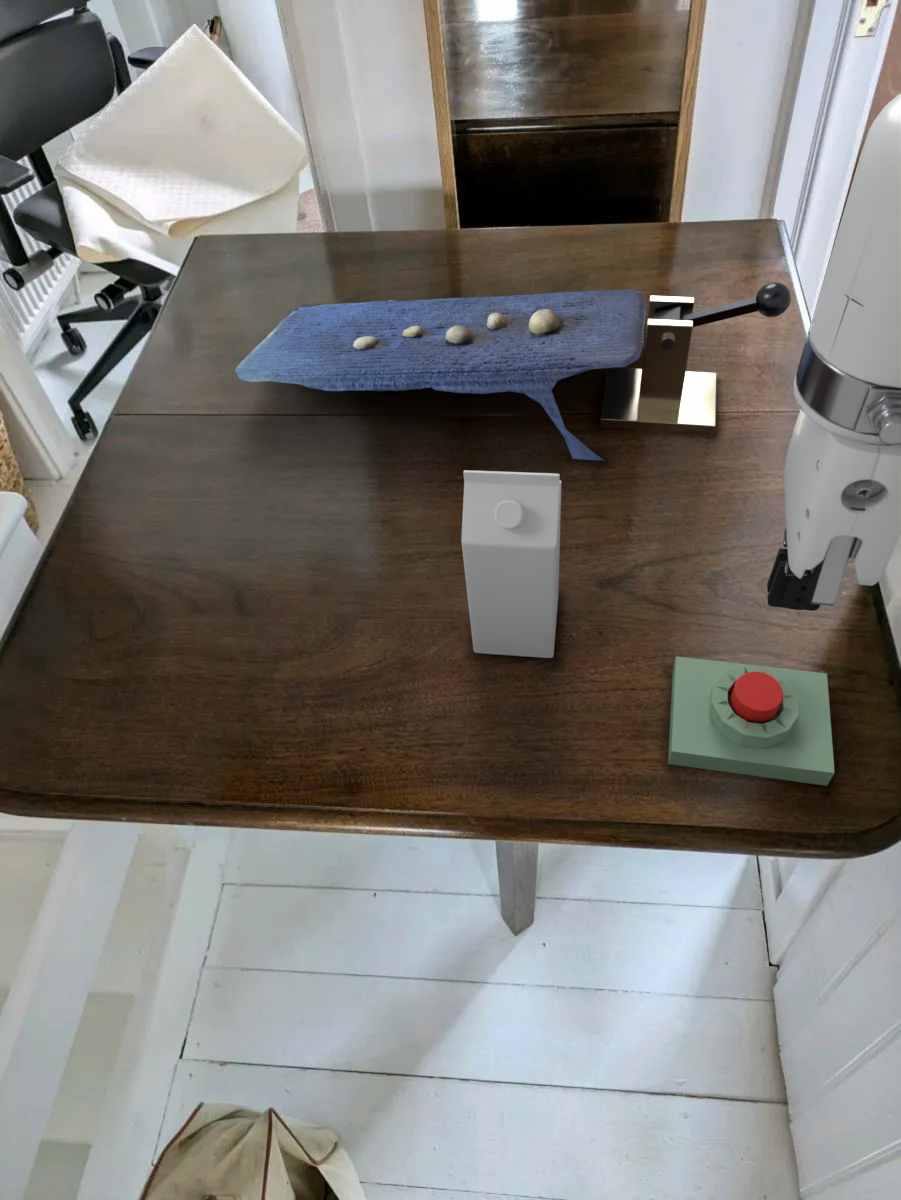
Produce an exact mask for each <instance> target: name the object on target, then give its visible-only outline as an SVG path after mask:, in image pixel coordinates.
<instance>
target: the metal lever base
mask: <svg viewBox="0 0 901 1200" xmlns="http://www.w3.org/2000/svg"><path fill="white" fill-rule="evenodd" d="M694 306H695V297H694V296H673V295H671V296H669V295H649V303H648V309H647V310H648V311H647V319H646V329H645V337H644V345H643V347H644V348H643V357H642V365H641V368H634V367H633V368H632V367H614V368H607V370H606V378H605V385H604V392H603V400H602V407H601V412H600V413H601V414H600V424H599V427H600V428H608V429H624V430H636V431H637V430H639V431H652V432H653V431H655V432H666V433H667V432H669V433H684V434H698V435H699V434H700V435H715V431H716V427H717V425H716V421H717V375H718V373H717V372H708V371H707V372H706V371H691V370H690V371H689V370H687V366H688V360H689V355H690V354H689V353H690V348H691V342H692V336H693V328H694V327H693V321H688V320H664V319H653V314H654V313H657V312H661V311H665V310H669V309H673V308H677V307H681V310H682V313H683V315H686V314H690V313H694Z"/></svg>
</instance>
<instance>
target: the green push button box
mask: <svg viewBox="0 0 901 1200" xmlns="http://www.w3.org/2000/svg"><path fill="white" fill-rule="evenodd" d="M748 672H762V673H766V674H768V675H770V676H772V677H773V678H774V679H776V680H777V681H778V683H779V684H780V686H781V688H782V690H783V700H782V702H781V705H780V707H779V709H778V712H777V713H776V715H775V716H774V717H773V718H772V719H770V720H768V721H765V722H752V721H748V720H746V719H744V718H742V717H741V716H740V715H738V714H737V713H736V711H735V710H734V708H733V707H732V704H731V695H732V691H733V688H734V686H735V683H736V681H737V679H738V678H739V677H740V676H742V675H743V674H745V673H748ZM671 680H672V682H671V698H670V699H671V702H670V718H669V719H670V720H669V738H668V739H669V740H668V741H669V742H668V757H667V758H668V760H667V764H668V765H672V766H679V767H687V768H694V769H701V770H709V771H717V772H723V773H731V774H737V775H738V774H739V775H745V776H752V777H760V778H767V779H774V780H781V781H782V780H783V781H789V782H796V783H804V784H811V785H818V786H828V785H829V784H830V782H831V780H832V778H833V777H834V775H835V759H834V746H833V744H834V743H833V731H832V720H831V707H830V694H829V681H828V673H827V672H818V671H817V672H816V671H810V670H809V671H808V670H798V669H791V668H781V667H772V666H766V665H765V666H763V665H757V664H756V665H755V664H747V663H738V662H729V661H720V660H712V659H703V658H695V657H694V658H693V657H685V656H677V655H676V656H675V659H674V664H673V668H672V679H671Z"/></svg>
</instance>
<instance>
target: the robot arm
mask: <svg viewBox="0 0 901 1200" xmlns="http://www.w3.org/2000/svg"><path fill="white" fill-rule="evenodd" d="M870 125H871V126H870V127H869V129H868V132H867V134H866V138H865V139H864V143H863V146H862V148H861V152H860V154H859V158H858V162H857V166H856V168H855V173H854V175H853V178H852V182H851V186H850V189H849V193H848V196H847V199H846V203H845V206H844V210H843V213H842V216H841V221H840V223H839V227H838V230H837V234H836V236H835V240H834V243H833V247H832V251H831V254H830V258H829V261H828V263H827V268H826V271H825V274H824V279H823V281H822V285H821V288H820V290H819V294H818V298H817V301H816V303H815V304H816V305H815V308H814V311H813V314H812V319H811V323H810V325H809V329H808V332H807V335H806V339H805V342H804V346H803V348H802V352H801V356H800V358H799V362H798V366H797V369H796V371H795V376H794V379H793V383H792V393H793V396H794V399H795V402H796V404H797V405H798V406H799V408H800V409H799V412H798V415H797V418H796V421H795V424H794V428H793V431H792V434H791V436H790V441H789V444H788V448H787V453H786V458H785V463H784V480H783V481H784V483H783V484H784V509H785V510H784V511H785V529H784V533H783V540H782V541H783V542H782V545H783V547H784V548H782V547H781V548H779V549H778V551H777V554H776V557H775V560H774V563H773V565H772V569H771V571H770V574H769V578H768V580H767V583H766V590H767V593H768V594H767V596H766V597H767V605H768V606H770V607H773V608H783V609H788V610H794V611H811V612H812V611H817V610H819V609H820V607H821V606H829V607H833V606H834V604H835V602H836V598H837V596H838V593H839V590H840V586H841V584H842V580H843V577H844V574H845V571H846V568H847V565H848V561H849V559H853V564H854V569H855V574H856V580H857V584H858V586H868V587H873V586H874V585H876V584H877V583H878V582H880V580H881V579H882V577H883V575H884V574H885V572H886V569H887V567H888V565H889V562H890V560H891V558H892V556H893V553H894V551H895V549H896V546H897V544H898V542H899V540H900V537H901V93H899V94H897V95H896V96H895V97H894V98H892V99H891V100H890V101H889V102H888V103H887V104H885V106H884V107H882V109H881V111H880V112H879V113H878V115H876V117H875V119H874V121H872V123H871V124H870Z"/></svg>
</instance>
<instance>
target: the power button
mask: <svg viewBox="0 0 901 1200" xmlns="http://www.w3.org/2000/svg"><path fill="white" fill-rule="evenodd" d="M782 700H783V690H782V688H781V686H780V684H779V683H778V681H777V680H776V679H774V678H773V677H772V676H770V675H768V674H766V673H762V672H748V673H745V674H743V675H742V676H740V677H739V678H738V679H737V681H736V683H735V686H734V688H733V691H732V695H731V704H732V707H733V708H734V710H735V711H736V713H737V714H738V715H740V716H741V717H742V718H744V719H746V720H748V721H752V722H765V721H768V720H770V719H772V718H773V717H774V716H775V715H776V713H777V712H778V709H779V707H780V705H781V702H782Z"/></svg>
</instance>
